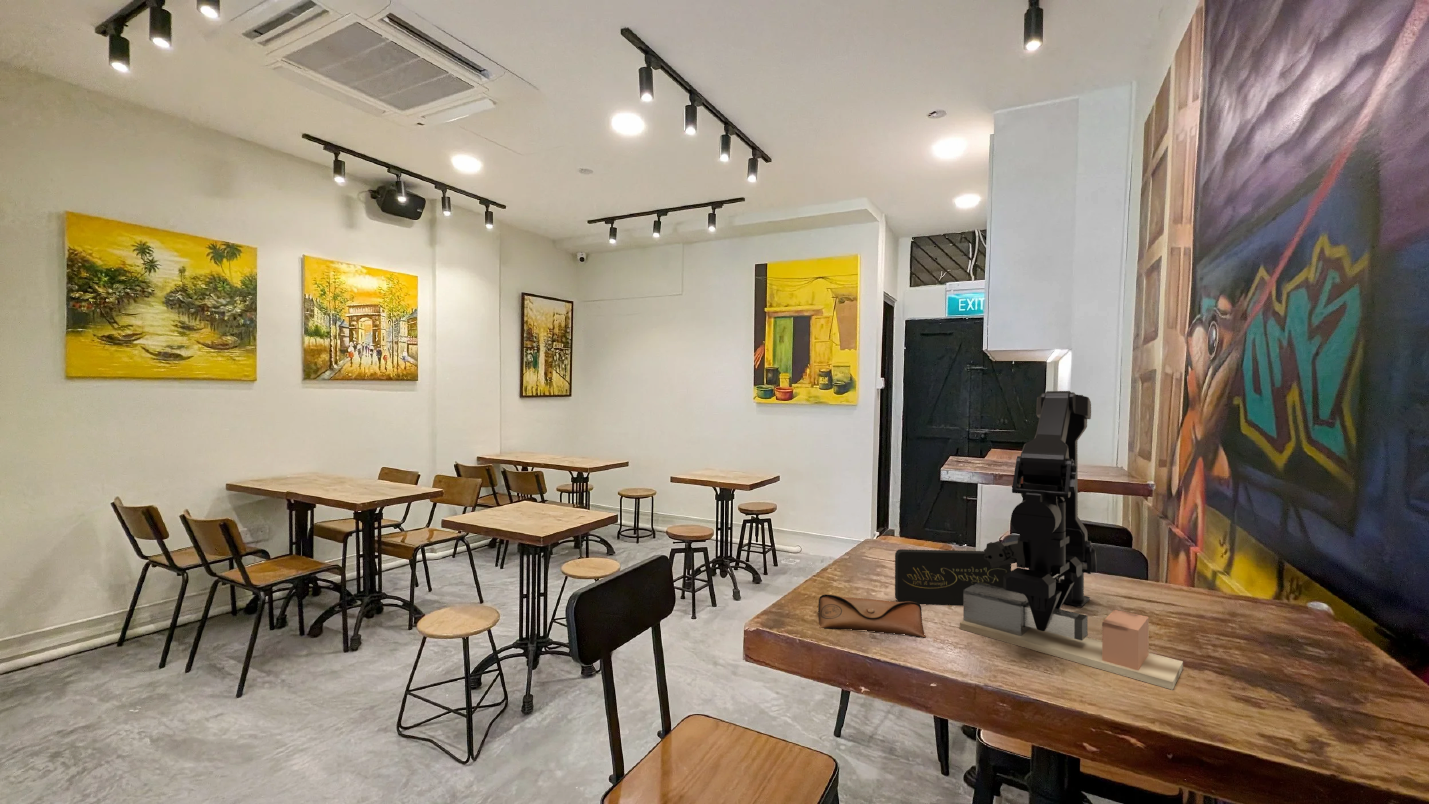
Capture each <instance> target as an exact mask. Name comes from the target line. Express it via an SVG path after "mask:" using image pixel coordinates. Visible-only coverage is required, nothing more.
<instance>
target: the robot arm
mask: <svg viewBox="0 0 1429 804" xmlns="http://www.w3.org/2000/svg"><path fill="white" fill-rule="evenodd" d="M1036 417H1037V418H1038V423H1037V427H1036V431H1035V436H1034V438H1033V439H1031V440H1029V441H1028V442H1026V443H1024V444H1023V446H1022V449H1021V453H1020V455H1017V456H1016V460H1015V467H1014V474H1013V479H1012V480H1013V481H1012V487H1011V494H1022V501H1021V502H1020V503H1018V504H1017V505H1016V506H1015V507H1014V508H1013V510H1012V512H1011V515H1010V521H1011V524H1012V525H1011V526H1013V529H1014V531H1016V533H1017V534H1018V536H1017V540H1014V541H1008V542H1001V541H1000V540H997V541H994V542H992V541H991V542H987V543H986V547H985V548H984V549H983V551H984V552H985V555H984V559H986V560H988V561H989V562H990V565H991V567H992V568H995V567H999V566H1000V565H1006V564H1011V565H1012V564H1016V567H1015V568H1013V569H1011V571H1010V572H1009V573H1007V574H1006V575H1005V576H1003V588H1004V589H1005V590H1008V591H1012V592H1017V593H1021V594H1024V595H1025V596H1026V598H1027V600H1028V603H1029V605H1030V609H1031V612H1032V615H1033V618H1034V621H1035V625H1036V628H1037V629H1038V630H1040V631H1045V630H1046V628H1047V625H1048V623H1049V621H1050V618H1051V616H1052V614H1053V611H1054V609H1055V608H1056V609H1061V608H1062V606H1063V604H1065V605H1070V606H1075V607H1080V608H1081V607H1083V606H1084V605H1085V604H1086V603H1088V601H1090V599H1091V598H1090V596H1087V595H1085V590H1084V589H1085V578H1084V577H1085V574H1089V575H1091V574H1093V573H1094V574H1095V573H1096V574H1097V555H1096V549H1095V548H1094V547H1093V544H1092V541H1091V540H1088V538H1089V537H1088V530H1087V527H1086V526H1085V525H1084V524H1083V522H1082V521H1081V519H1080V518H1079V515H1078V514H1079V513H1078V512H1079V511H1078V509H1079V508H1078V507H1079V506H1078V505H1079V504H1078V503H1079V501H1078V499H1079V497H1078V495H1079V494H1078V493H1079V492H1078V491H1079V490H1078V487H1079V485H1078V484H1079V483H1078V473H1079V472H1078V461H1079V460H1078V457H1079V455H1078V443H1079V439H1080V438H1081V436H1082V435H1083V434H1084V432H1085V431H1086V429H1087V427H1088V420H1091V419H1092V403H1091V400H1090V398H1089V397H1088V396H1085V395H1083V394H1076V393H1075V392H1071V391H1070V390H1050V391H1048V390H1047V391H1045V392H1041V395H1039V396H1037V397H1036Z"/></svg>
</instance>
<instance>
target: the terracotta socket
mask: <svg viewBox="0 0 1429 804" xmlns="http://www.w3.org/2000/svg"><path fill="white" fill-rule="evenodd" d="M1149 618H1150V617H1149V616H1147V615H1146V616H1145V615H1141V614H1137V613H1132V612H1128V611H1123V610H1120V609H1113V610H1112V611H1111V612H1110V613H1109V615H1107V616H1106V617H1105V619H1103V620H1102V621H1101V622H1102V624H1101V628H1102V629H1101V634H1102V635H1101V638H1102V639H1101V641H1102V661H1106V662H1110V663H1113V664H1117V665H1120V666H1124V667H1128V668H1131V669H1135V670H1139V669H1140V667H1141V666H1142V664H1143V663H1144V661H1145V660H1146V658H1147V657H1148V655H1149V653H1150V652H1149V651H1150V650H1149V649H1150V645H1149V644H1150V641H1149V639H1150V634H1149V629H1150V623H1149V621H1150V620H1149Z"/></svg>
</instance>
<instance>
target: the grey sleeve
mask: <svg viewBox="0 0 1429 804" xmlns="http://www.w3.org/2000/svg"><path fill="white" fill-rule="evenodd" d="M1026 603H1028V600H1027V598H1026V596H1025V595H1024V594H1021V593H1017V592H1012V591H1008V590H1005V589H1004V588H1000V587H996V586H991V585H987V584H982V583H976V584H974V585H972V586H970V587H968V588H966V589H964V604H963V606H962V608H963V618H962V619H963V620H962V621H967V622H970V623H974V624H978V625H981V626H985V627H989V628H992V629H996V630H1000V631H1003V632H1007V633H1011V634H1014V635H1018V636H1022V635H1023V634H1024V633H1026V632H1027V631H1028V630H1030V629H1031V627H1028V626H1024V625H1023V605H1025V604H1026Z"/></svg>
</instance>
